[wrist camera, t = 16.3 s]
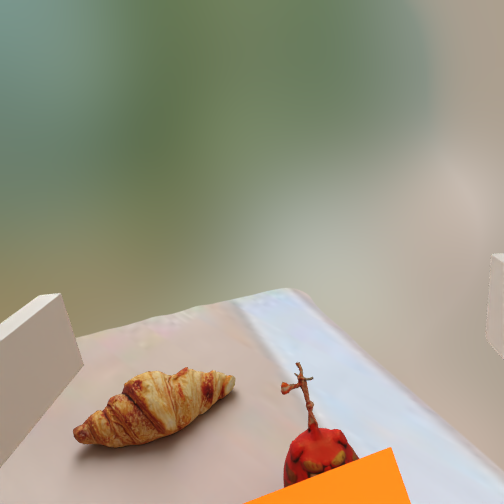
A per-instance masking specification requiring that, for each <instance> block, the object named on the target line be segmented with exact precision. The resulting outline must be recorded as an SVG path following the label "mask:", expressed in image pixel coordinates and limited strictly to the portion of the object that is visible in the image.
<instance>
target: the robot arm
mask: <svg viewBox="0 0 504 504" xmlns="http://www.w3.org/2000/svg"><path fill="white" fill-rule="evenodd" d="M486 340H487V341H488V342H489V344H490V345H491V346H492V347H493V348H494V349H495V350H496V352H497V353H498V354H499V355H500V356H501V357H502V358H503V360H504V253H501V254H491V265H490V279H489V294H488V309H487V325H486ZM83 366H84V364H83V361H82V358H81V354H80V351H79V348H78V345H77V342H76V339H75V336H74V333H73V330H72V326H71V324H70V320H69V317H68V314H67V311H66V308H65V305H64V302H63V299H62V296H61V293H59V294H48V295H39V296H38V297H36V298H35V299H34V300H32V301H31V302H30V303H28V304H27V305H25V306H24V307H23V308H21V309H20V310H18V311H17V312H16V313H14V314H13V315H12V316H10V317H9V318H8V319H6V320H5V321H4V322H2V323H1V324H0V468H1V467H2V465H3V464H4V463H5V462H6V460H7V459H8V458H9V457H10V455H11V454H12V453H13V452H14V451H15V449H16V448H17V447H18V446H19V444H20V443H21V442H22V441H23V439H24V438H25V437H26V436H27V435H28V433H29V432H30V431H31V430H32V428H33V427H34V426H35V425H36V423H37V422H38V421H39V420H40V419H41V417H42V416H43V415H44V414H45V412H46V411H47V410H48V409H49V407H50V406H51V405H52V404H53V403H54V401H55V400H56V399H57V398H58V396H59V395H60V394H61V393H62V391H63V390H64V389H65V388H66V387H67V385H68V384H69V383H70V382H71V380H72V379H73V378H74V377H75V375H76V374H77V373H78V372H79V371H80V369H81V368H82V367H83Z"/></svg>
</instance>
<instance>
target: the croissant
mask: <svg viewBox="0 0 504 504" xmlns="http://www.w3.org/2000/svg"><path fill="white" fill-rule="evenodd" d="M234 385H235V377H234V376H231V375H229V376H227V375H225V374H223V373H220V372H216V371H211V372H208V373H203V372H199V371H198V372H197V371H195V370H193V369H188V367H186V368H184V369H182V370H181V371H179V372H178V373H177V374H174V375H172V376H171V375H166V374H164V373H162V372H160V371H152V372H150V371H149V372H145V373H143V374H140V375H137V376H136V377H134V378H132V379H131V380H129V381H128V382H127V383H125V384H124V389H123V392H122V394H119V395H116V396H113V397H111V398H110V399H109V401H108V404H107V407H105V409H104V410H103V411H101V410H100V411H96V412H95V413H94V414H92V415H91V416H90V417H89V418H88V419H87V420H86V421H85V422H84V423H83V424H82V425H80V426H78V427H76V428H74V430H73V434H74V437H75V439H76V440H77V441H78V442H79V443H83V444H102V445H104V446H107V447H114V448H116V447H124V446H127V445H131V444H132V445H140V444H145V443H148V442H151V441H154V440H156V439H158V438H161V437H165V436H167V435H170V434H173V433H175V432H177V431H179V430H181V429H183V428H184V427H186V426H187V425H188V424H190V423H191V422H192V421H193V420H194V419H195V418H196V417H197V416H198V415H199V414H203V413H205V412H206V411H207V410H209V409H210V407H211V406H212V405H213V404H215V402H216V401H217V400H218V399H221V398H224V397H225V396H226V395H227V394H228V393H229V392H230V391H231V390H232V389H233V387H234Z"/></svg>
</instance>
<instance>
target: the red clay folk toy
mask: <svg viewBox="0 0 504 504" xmlns="http://www.w3.org/2000/svg"><path fill="white" fill-rule="evenodd" d="M295 364H296V365H297V366H298V368H299V371H300V373H299V375H297V374H296V373H294V374H295V375H296V376H297V378H298V383H297V384H290V385H288V384H287V383H285V382H282V385H281V392H282V394H283V395H285V394H287V393H289V391H290V390H292V389H295V388H298V387H301V389H302V391H303V393H304V397H305V400H306V407H307V410H308V429H307V430H306V431H305V432H303V433H301V434H300V435H299V436H298V437H297V438H296V439H295V440H294V441H292V443H291V444H290V448H289V451H288V454H287V456H286V460H285V465H284V488H285V487H288V486H291V485H293V484H296V483H298V482H301V481H304V480H306V479H309V478H311V477H314V476H317V475H319V474H322V473H324V472H327V471H330V470H332V469H335V468H337V467H340V466H343V465H345V464H348V463H350V462H353V461H356V460H358V459H359V457H358V456H357V455H356V453H355V452H354V450H353V449H352V447H351V446H350V445H349V444H348V442H347V439H346V437H345V435H344V434H343V433H342V431H341V430H338V429H333V430H330V429H325V428H318V424H317V421H316V419H315V417H314V415H313V413H312V409H313V406H314V403H313V402H312V401H310V400H309V393H308V387H307V382H306V380H312V379H313V377H311V378H305V377H303V370H302V367H301V365H300V362H299V363H295Z"/></svg>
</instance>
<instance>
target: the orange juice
mask: <svg viewBox="0 0 504 504" xmlns="http://www.w3.org/2000/svg"><path fill="white" fill-rule="evenodd" d="M244 504H411V503H410V500H409V497H408V494H407V491H406V488H405V486H404V483H403V480H402V477H401V474H400V471H399V468H398V466H397V463H396V460H395V457H394V454H393V451H392V448H391V447H389V448H387V449H384V450H382V451H379V452H376V453H374V454H371V455H369V456H366V457H363V458H361V459H358V460H356V461H353V462H350V463H348V464H345V465H343V466H340V467H337V468H335V469H332V470H330V471H327V472H324V473H322V474H319V475H317V476H314V477H311V478H309V479H306V480H304V481H301V482H298V483H296V484H293V485H291V486H288V487H285V488H283V489H280V490H278V491H275V492H272V493H270V494H267V495H265V496H262V497H259V498H257V499H254V500H252V501H249V502H246V503H244Z"/></svg>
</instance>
